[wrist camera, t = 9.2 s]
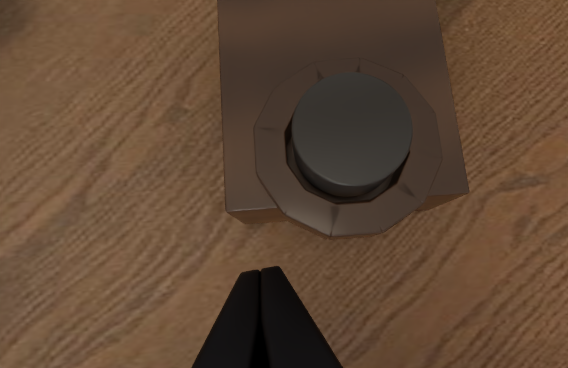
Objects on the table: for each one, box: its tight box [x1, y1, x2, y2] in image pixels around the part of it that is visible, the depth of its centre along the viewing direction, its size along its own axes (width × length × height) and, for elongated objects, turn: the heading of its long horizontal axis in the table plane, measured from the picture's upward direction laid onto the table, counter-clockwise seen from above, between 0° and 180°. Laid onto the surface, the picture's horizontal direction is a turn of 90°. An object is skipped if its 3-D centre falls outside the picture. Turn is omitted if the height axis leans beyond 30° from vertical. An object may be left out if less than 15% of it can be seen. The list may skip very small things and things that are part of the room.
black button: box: [291, 72, 413, 197], centre depth 13 cm, size 4×4×2 cm
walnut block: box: [217, 0, 469, 240], centre depth 18 cm, size 13×10×7 cm
